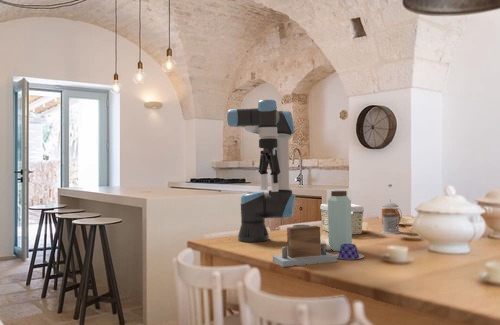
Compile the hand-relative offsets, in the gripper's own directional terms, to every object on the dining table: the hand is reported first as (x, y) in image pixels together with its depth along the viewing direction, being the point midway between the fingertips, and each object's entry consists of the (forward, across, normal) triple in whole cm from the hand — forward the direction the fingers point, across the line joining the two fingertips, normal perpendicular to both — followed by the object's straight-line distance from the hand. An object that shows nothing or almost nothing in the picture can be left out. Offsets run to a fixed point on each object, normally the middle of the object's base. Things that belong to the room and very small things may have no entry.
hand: (269, 190), depth 192 cm
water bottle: (+27, -2, +32) cm, 42 cm away
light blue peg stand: (+27, +14, +9) cm, 31 cm away
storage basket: (+27, -45, +55) cm, 76 cm away
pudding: (+27, +13, +28) cm, 41 cm away
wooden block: (+25, +14, +9) cm, 29 cm away
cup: (+27, -11, +18) cm, 34 cm away
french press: (+27, -34, +78) cm, 89 cm away
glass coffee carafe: (+27, -58, +93) cm, 113 cm away
